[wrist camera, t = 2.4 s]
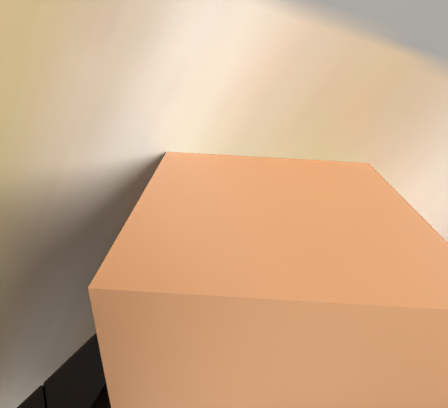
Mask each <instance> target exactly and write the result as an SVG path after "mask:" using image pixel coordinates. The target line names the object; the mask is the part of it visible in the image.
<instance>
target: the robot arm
mask: <svg viewBox="0 0 448 408" xmlns="http://www.w3.org/2000/svg"><path fill="white" fill-rule="evenodd" d="M43 385H44V386H43ZM43 385H41V386H39V387H38V388H37V389H36V390H35V391H34V392H33V393H32V394H31V395H30V396H29V397H28V398H27V399H26V400H25V401H24V402H22V403H21V404H20V405H19V406H18V407H17V408H111V405H110V400H109V394H108V389H107V384H106V379H105V374H104V369H103V364H102V359H101V354H100V349H99V343H98V338H97V333H95V334H94V335H93V336H92V337H91V338H90V339H89V340H88V341H87V342H86V343H85V344H84V345H83V346H82V347H81V348H80V349H79V350H78V351H76V352H75V353H74V354H73V355H72V356H71V357H70V358H69V359H68V360H67V361H66V362H65V363H64V364H63V365H62V366H61V367H60V368H59V369H58V370H56V371H55V372H54V373H53V374H52V375H51V376H50V377H49V378H48V379H47V380H46V381H45V382H44V384H43Z"/></svg>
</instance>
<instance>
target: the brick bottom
mask: <svg viewBox="0 0 448 408" xmlns="http://www.w3.org/2000/svg"><path fill="white" fill-rule="evenodd" d="M88 292H89V298H90V303H91V308H92V313H93V318H94V323H95V328H96V333H97V338H98V343H99V349H100V354H101V359H102V364H103V369H104V374H105V379H106V384H107V389H108V394H109V400H110V405H111V408H448V243H447V242H446V241H445V240H444V239H443V238H442V237H441V236H440V234H439V233H438V232H437V231H436V230H435V229H434V228H433V227H432V226H431V225H430V224H429V223H428V222H427V221H426V220H425V219H424V218H423V217H422V216H421V215H420V214H419V213H418V212H417V211H416V210H415V209H414V208H413V207H412V206H411V205H410V204H409V203H408V202H407V201H406V200H405V199H404V198H403V197H402V196H401V195H400V194H399V193H398V192H397V191H396V190H395V189H394V188H393V187H392V186H391V185H390V184H389V183H388V182H387V181H386V180H385V179H384V178H383V177H382V176H381V175H380V174H379V173H378V172H377V171H376V170H375V169H374V168H373V167H372V166H371V165H370V164H369V163H357V162H339V161H321V160H304V159H286V158H268V157H250V156H232V155H214V154H196V153H178V152H166V154H165V155H164V157H163V159H162V161H161V162H160V164H159V166H158V167H157V169H156V171H155V173H154V174H153V176H152V178H151V180H150V181H149V183H148V185H147V186H146V188H145V190H144V192H143V193H142V195H141V197H140V199H139V200H138V202H137V204H136V205H135V207H134V209H133V211H132V212H131V214H130V216H129V218H128V219H127V221H126V223H125V225H124V226H123V228H122V230H121V231H120V233H119V235H118V237H117V238H116V240H115V242H114V244H113V245H112V247H111V249H110V250H109V252H108V254H107V256H106V257H105V259H104V261H103V263H102V264H101V266H100V268H99V269H98V271H97V273H96V275H95V276H94V278H93V280H92V282H91V283H90V285H89V287H88Z"/></svg>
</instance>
